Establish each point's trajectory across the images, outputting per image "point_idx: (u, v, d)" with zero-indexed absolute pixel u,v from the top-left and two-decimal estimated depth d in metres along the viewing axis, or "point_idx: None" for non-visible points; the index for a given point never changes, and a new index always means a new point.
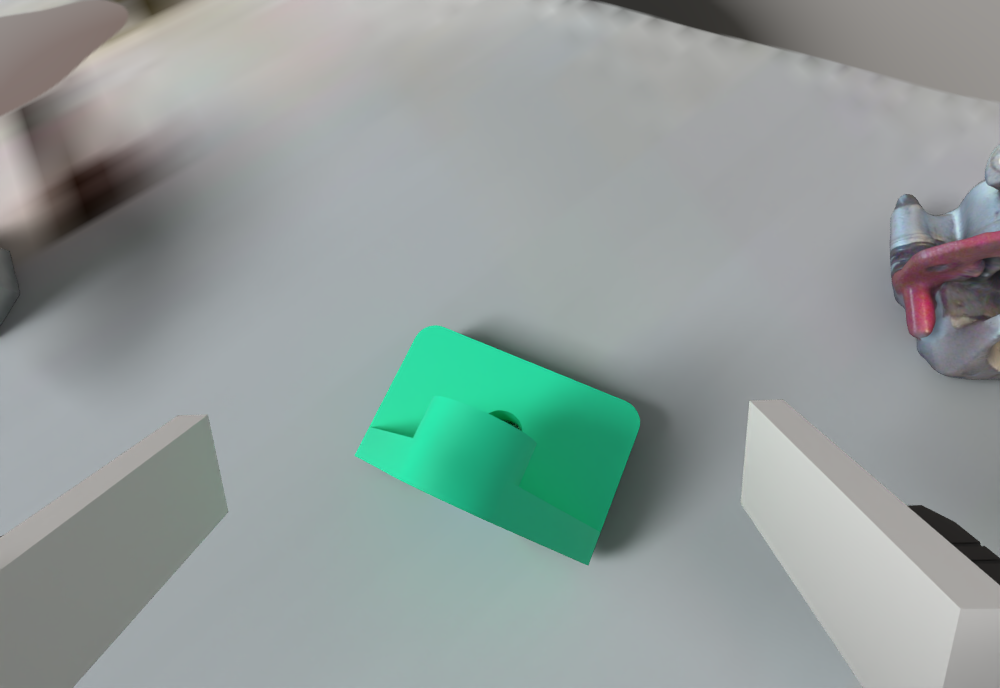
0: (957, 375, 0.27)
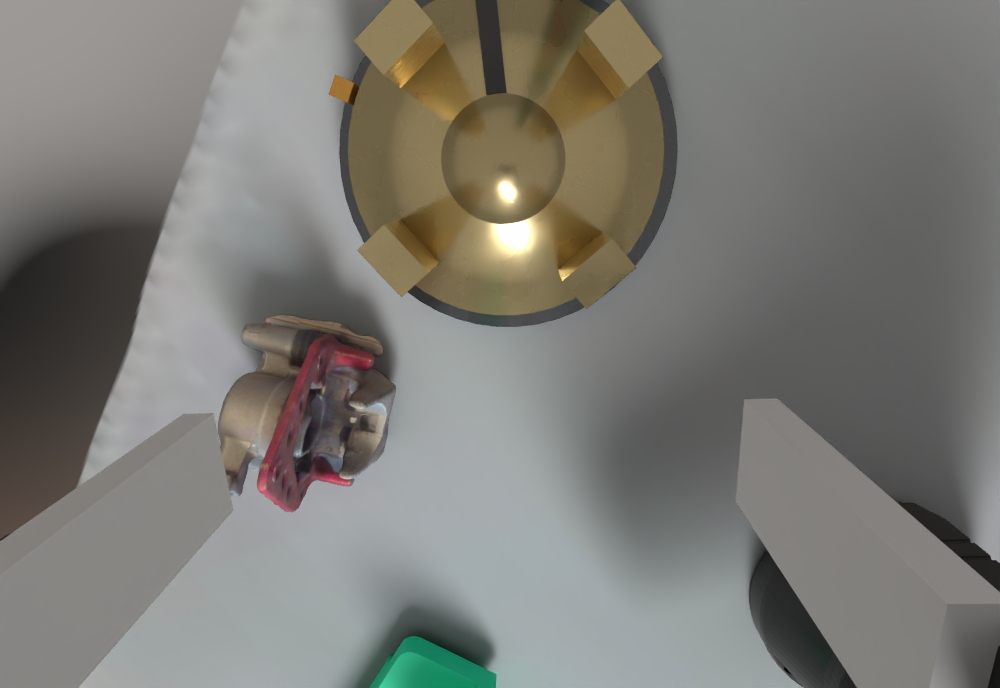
0: (383, 450, 0.37)
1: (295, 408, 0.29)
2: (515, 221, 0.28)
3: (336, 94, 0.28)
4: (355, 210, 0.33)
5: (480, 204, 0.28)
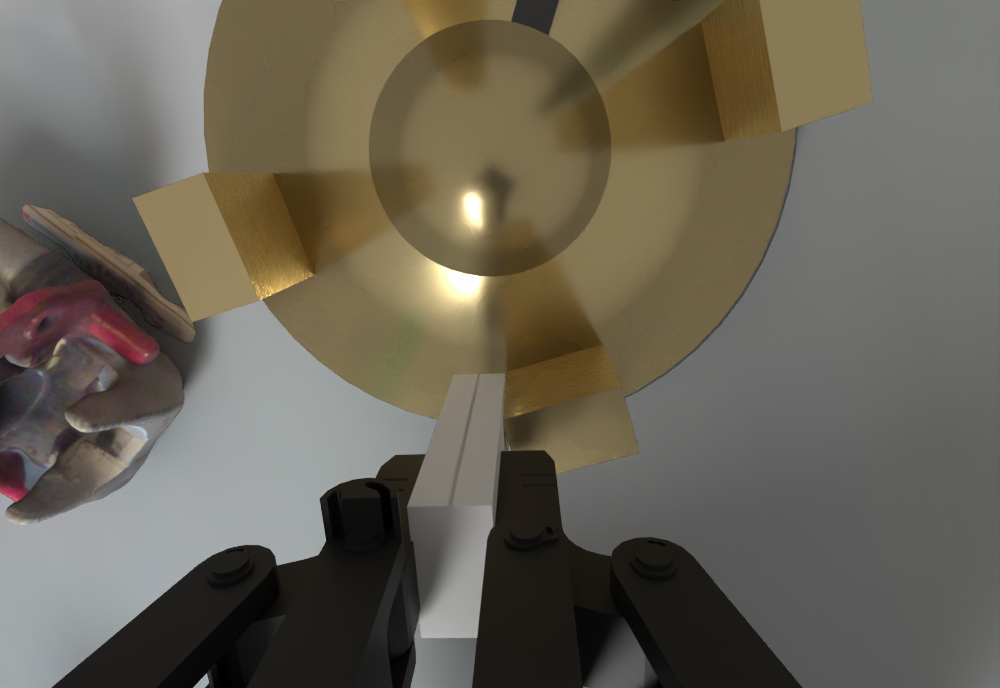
0: (127, 482, 0.23)
1: None
2: (466, 271, 0.15)
3: None
4: None
5: (416, 214, 0.14)
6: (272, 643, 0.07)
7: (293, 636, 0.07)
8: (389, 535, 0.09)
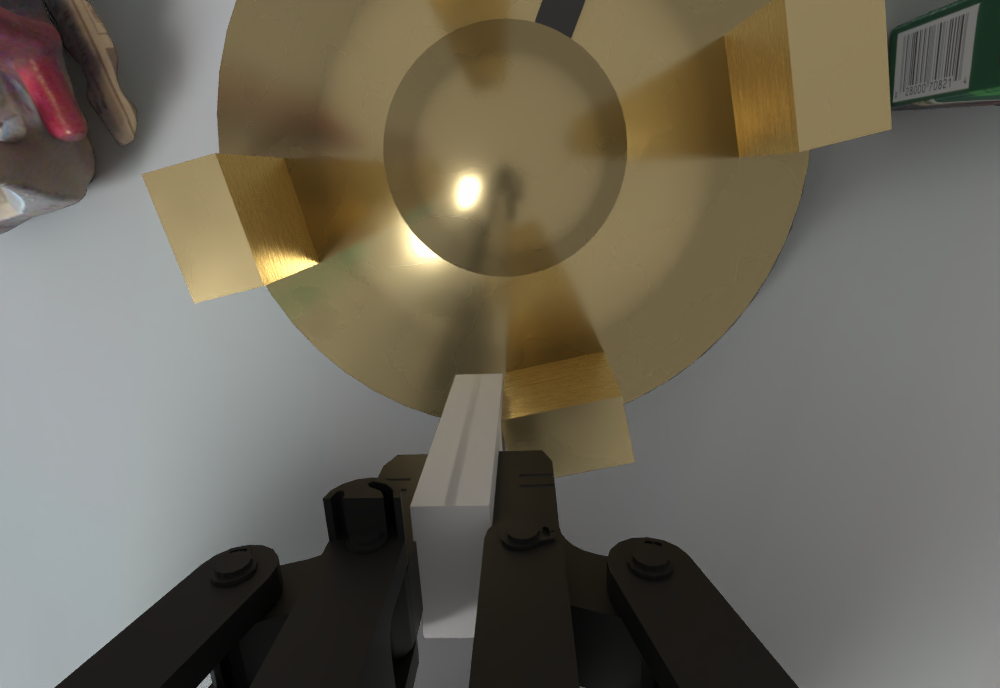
0: None
1: None
2: (473, 269, 0.15)
3: None
4: None
5: (427, 209, 0.14)
6: (275, 643, 0.07)
7: (296, 636, 0.07)
8: (392, 535, 0.09)
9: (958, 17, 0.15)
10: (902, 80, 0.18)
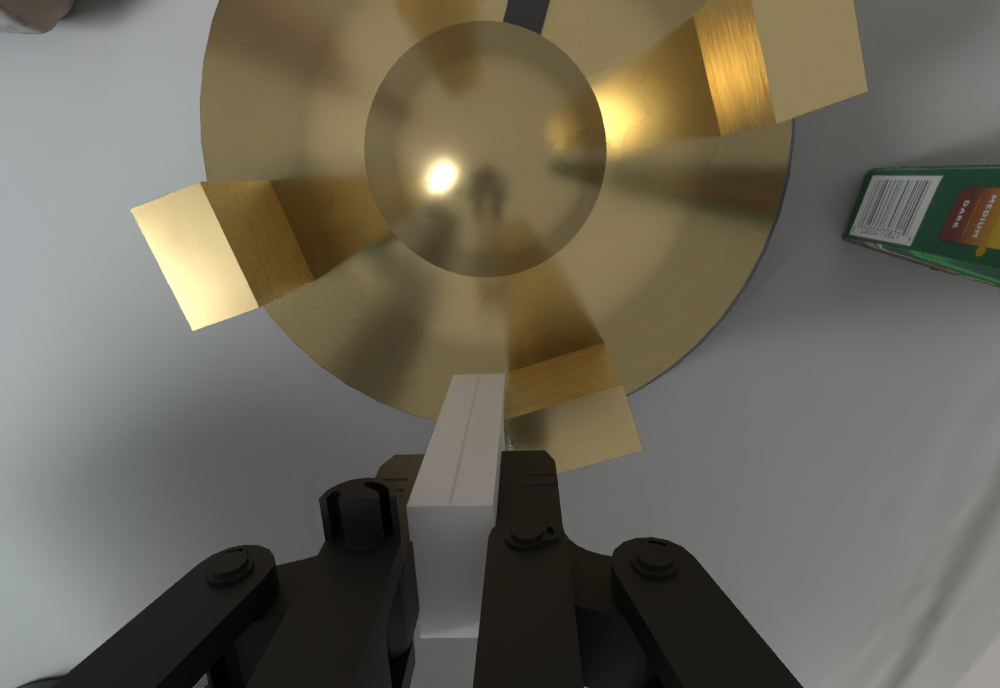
0: None
1: None
2: (465, 272, 0.15)
3: None
4: None
5: (413, 217, 0.14)
6: (271, 643, 0.07)
7: (292, 636, 0.07)
8: (388, 535, 0.09)
9: (923, 181, 0.17)
10: (862, 217, 0.19)
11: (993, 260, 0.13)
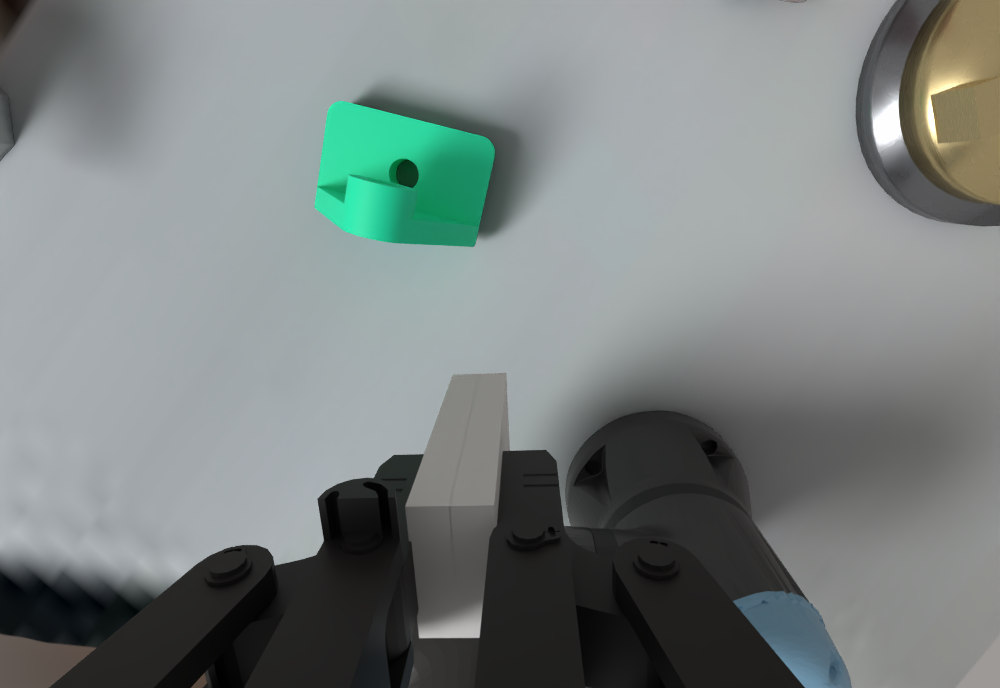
0: None
1: None
2: None
3: None
4: None
5: None
6: (270, 643, 0.07)
7: (291, 636, 0.07)
8: (387, 535, 0.09)
9: None
10: None
11: None
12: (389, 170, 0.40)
